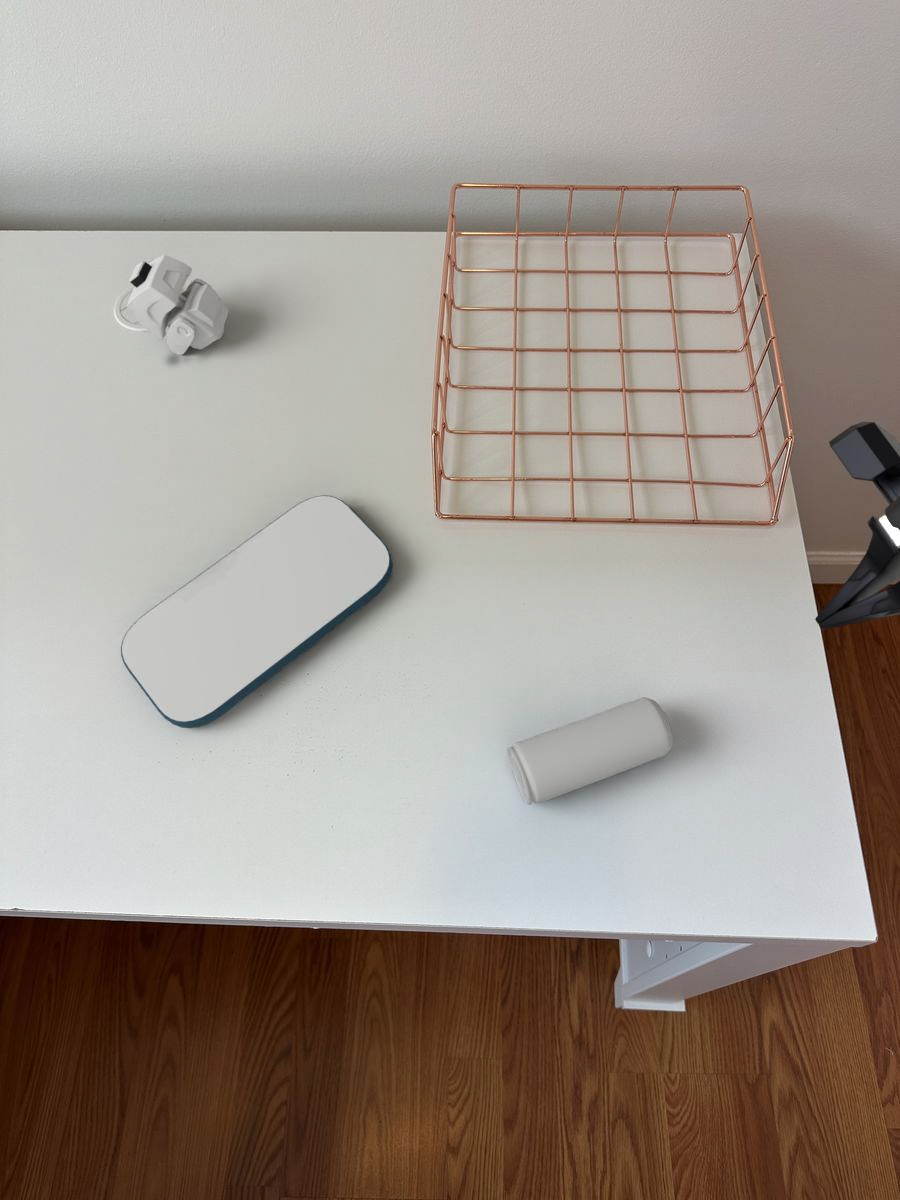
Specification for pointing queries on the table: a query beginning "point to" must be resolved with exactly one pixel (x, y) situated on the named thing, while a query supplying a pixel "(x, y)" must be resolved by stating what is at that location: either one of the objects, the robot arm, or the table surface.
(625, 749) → the beverage can
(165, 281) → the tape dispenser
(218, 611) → the external hard drive
